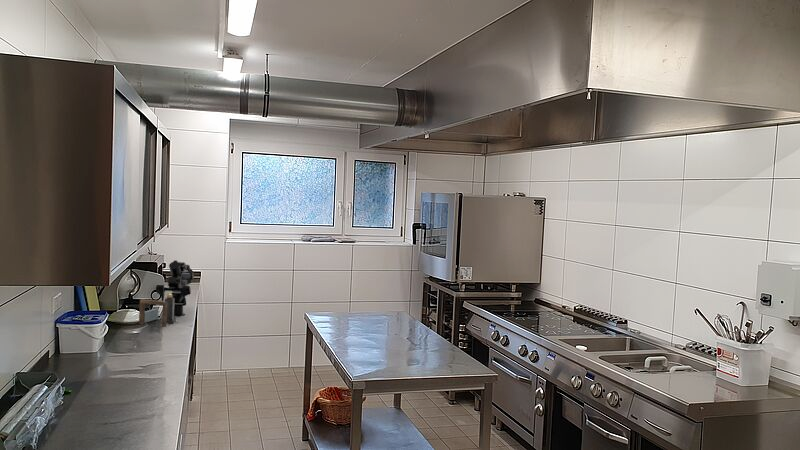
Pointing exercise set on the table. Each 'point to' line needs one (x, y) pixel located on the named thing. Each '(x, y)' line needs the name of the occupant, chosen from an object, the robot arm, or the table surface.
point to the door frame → (142, 303)
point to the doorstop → (170, 309)
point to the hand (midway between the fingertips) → (170, 301)
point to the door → (151, 315)
